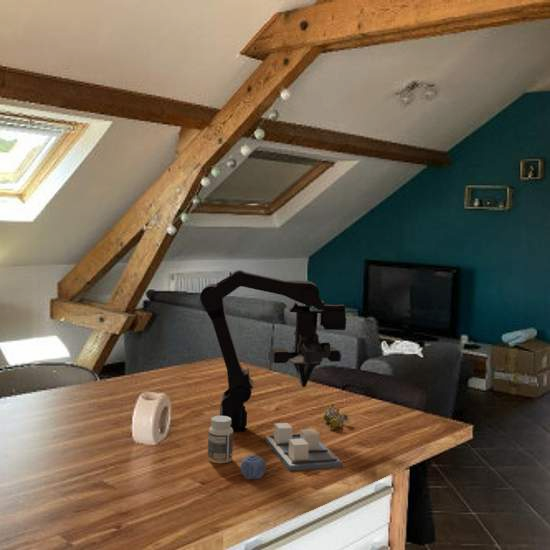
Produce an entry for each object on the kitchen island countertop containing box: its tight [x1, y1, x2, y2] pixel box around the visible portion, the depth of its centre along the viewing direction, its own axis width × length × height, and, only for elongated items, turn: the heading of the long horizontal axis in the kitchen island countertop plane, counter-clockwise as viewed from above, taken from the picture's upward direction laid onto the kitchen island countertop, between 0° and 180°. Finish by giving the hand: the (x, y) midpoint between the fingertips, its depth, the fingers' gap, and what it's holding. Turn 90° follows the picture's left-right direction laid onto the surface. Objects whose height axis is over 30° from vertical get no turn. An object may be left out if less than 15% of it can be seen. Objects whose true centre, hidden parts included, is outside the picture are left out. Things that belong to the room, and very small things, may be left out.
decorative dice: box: [240, 455, 266, 480], centre depth 151 cm, size 4×4×4 cm
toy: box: [322, 403, 349, 431], centre depth 192 cm, size 5×5×15 cm
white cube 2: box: [299, 428, 320, 450], centre depth 167 cm, size 4×4×4 cm
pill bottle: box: [207, 415, 234, 464], centre depth 159 cm, size 6×6×10 cm
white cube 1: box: [288, 438, 309, 461], centre depth 160 cm, size 4×4×4 cm
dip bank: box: [263, 433, 344, 472], centre depth 167 cm, size 13×21×1 cm, turn 17°
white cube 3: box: [273, 422, 294, 443], centre depth 171 cm, size 4×4×4 cm
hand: (303, 386), depth 182 cm, fingers closed
